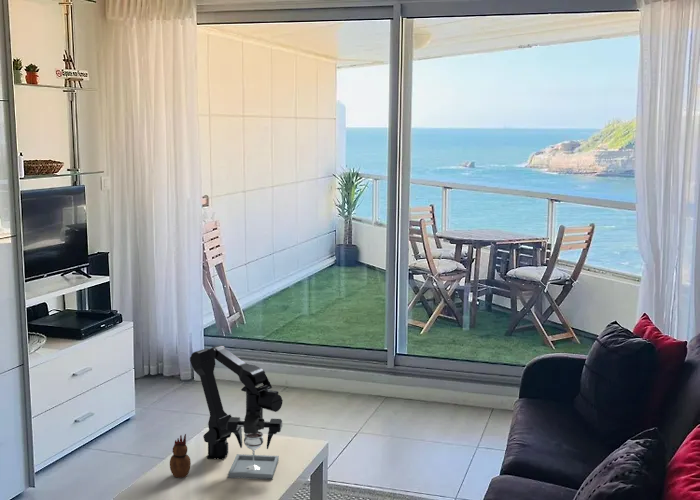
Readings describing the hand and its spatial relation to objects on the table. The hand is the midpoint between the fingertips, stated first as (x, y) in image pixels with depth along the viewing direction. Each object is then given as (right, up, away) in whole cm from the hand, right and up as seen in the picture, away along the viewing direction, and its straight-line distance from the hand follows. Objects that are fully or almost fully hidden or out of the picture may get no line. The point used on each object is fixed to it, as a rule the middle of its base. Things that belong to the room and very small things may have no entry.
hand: (254, 448), depth 265 cm
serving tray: (0, -8, +1) cm, 8 cm away
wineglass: (0, -7, +1) cm, 7 cm away
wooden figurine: (-25, -8, -5) cm, 26 cm away
